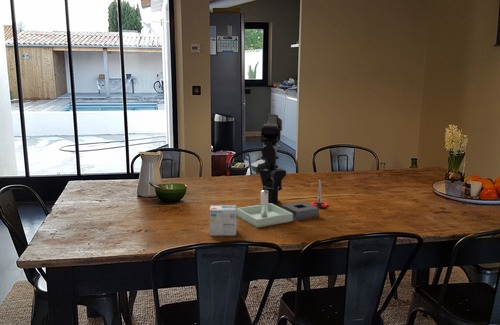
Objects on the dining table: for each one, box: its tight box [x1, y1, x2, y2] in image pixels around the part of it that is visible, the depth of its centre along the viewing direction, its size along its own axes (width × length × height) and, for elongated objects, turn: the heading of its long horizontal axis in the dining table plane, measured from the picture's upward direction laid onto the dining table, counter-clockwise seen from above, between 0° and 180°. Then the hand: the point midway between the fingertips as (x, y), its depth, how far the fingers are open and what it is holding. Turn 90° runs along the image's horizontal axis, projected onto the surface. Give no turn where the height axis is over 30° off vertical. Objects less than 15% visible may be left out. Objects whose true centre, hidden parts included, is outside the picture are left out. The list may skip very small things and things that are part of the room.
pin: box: [260, 189, 268, 218], centre depth 216 cm, size 3×3×12 cm
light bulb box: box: [209, 204, 238, 236], centre depth 198 cm, size 11×7×11 cm, turn 92°
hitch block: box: [281, 201, 320, 221], centre depth 223 cm, size 12×12×4 cm
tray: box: [236, 203, 294, 229], centre depth 217 cm, size 18×18×4 cm
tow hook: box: [309, 180, 329, 209], centre depth 237 cm, size 8×13×9 cm
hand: (269, 188), depth 220 cm, fingers open, 9 cm apart
